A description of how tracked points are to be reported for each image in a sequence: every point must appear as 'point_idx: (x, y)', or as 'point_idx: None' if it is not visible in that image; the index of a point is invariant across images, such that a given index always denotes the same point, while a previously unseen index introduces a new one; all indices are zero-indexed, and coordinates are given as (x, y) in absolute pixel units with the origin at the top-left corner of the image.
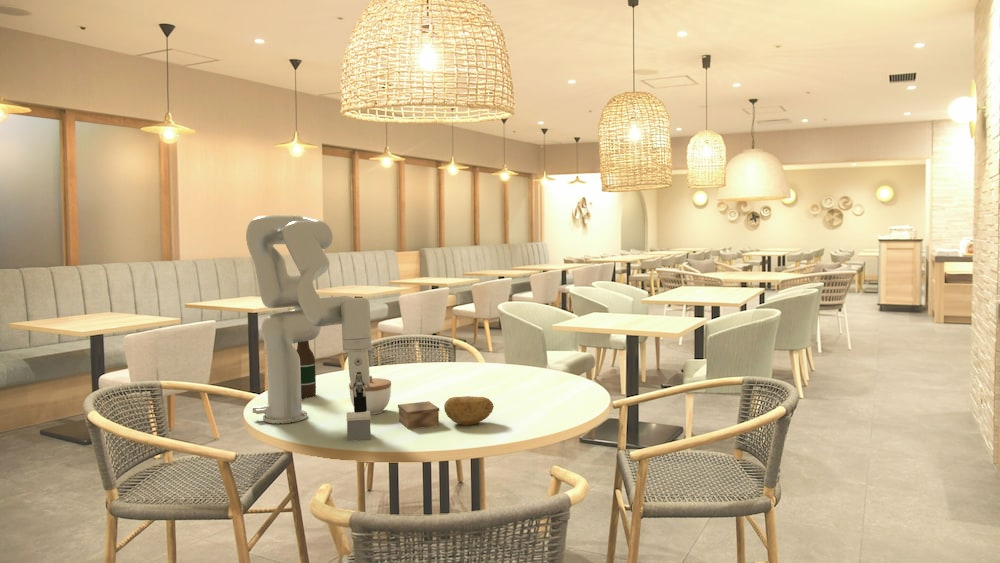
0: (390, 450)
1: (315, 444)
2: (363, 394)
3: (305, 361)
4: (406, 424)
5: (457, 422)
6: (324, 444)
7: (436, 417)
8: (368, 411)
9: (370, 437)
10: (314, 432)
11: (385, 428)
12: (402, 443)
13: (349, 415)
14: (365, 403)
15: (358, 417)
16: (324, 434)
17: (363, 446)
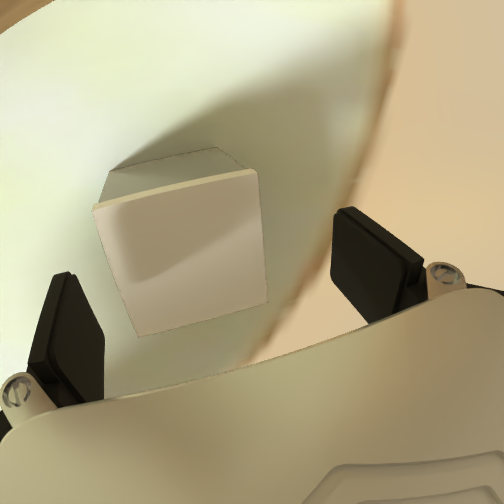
0: (371, 64)
1: (253, 332)
2: (458, 283)
3: None
4: (25, 9)
5: None
6: (257, 308)
7: None
8: (103, 217)
9: (219, 149)
10: (113, 374)
11: (24, 116)
12: (296, 9)
13: (207, 306)
14: (384, 236)
15: (262, 245)
16: (133, 344)
17: (309, 165)
